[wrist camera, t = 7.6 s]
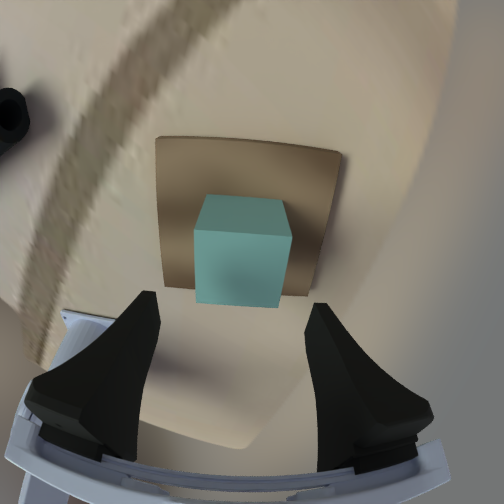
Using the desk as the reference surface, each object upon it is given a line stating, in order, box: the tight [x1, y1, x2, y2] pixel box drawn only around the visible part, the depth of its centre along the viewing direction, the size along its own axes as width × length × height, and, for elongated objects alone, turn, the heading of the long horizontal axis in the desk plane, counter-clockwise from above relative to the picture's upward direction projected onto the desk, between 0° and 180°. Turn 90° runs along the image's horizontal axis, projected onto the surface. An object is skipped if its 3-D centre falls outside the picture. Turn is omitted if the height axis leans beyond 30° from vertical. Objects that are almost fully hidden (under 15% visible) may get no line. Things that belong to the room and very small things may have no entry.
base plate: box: [155, 136, 342, 296], centre depth 18 cm, size 12×12×4 cm
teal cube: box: [194, 194, 292, 308], centre depth 17 cm, size 5×5×5 cm
